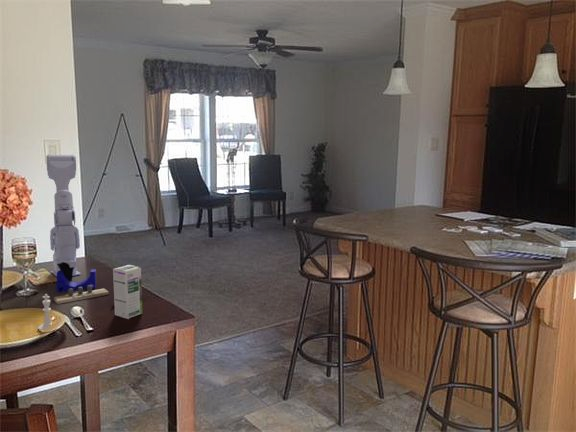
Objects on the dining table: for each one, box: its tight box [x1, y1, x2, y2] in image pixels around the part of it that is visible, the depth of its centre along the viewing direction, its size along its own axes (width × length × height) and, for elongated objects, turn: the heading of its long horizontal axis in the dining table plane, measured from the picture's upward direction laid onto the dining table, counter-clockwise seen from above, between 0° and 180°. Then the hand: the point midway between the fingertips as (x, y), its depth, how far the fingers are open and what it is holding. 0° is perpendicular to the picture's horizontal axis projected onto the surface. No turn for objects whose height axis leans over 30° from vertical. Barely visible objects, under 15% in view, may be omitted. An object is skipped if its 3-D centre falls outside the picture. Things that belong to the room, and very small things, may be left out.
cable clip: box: [55, 268, 97, 293], centre depth 175 cm, size 12×4×6 cm, turn 105°
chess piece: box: [37, 293, 53, 330], centre depth 140 cm, size 5×5×10 cm
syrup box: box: [112, 264, 143, 320], centre depth 152 cm, size 6×6×14 cm
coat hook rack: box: [53, 284, 110, 305], centre depth 167 cm, size 4×16×3 cm, turn 130°
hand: (67, 283), depth 178 cm, fingers closed, pressing on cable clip
